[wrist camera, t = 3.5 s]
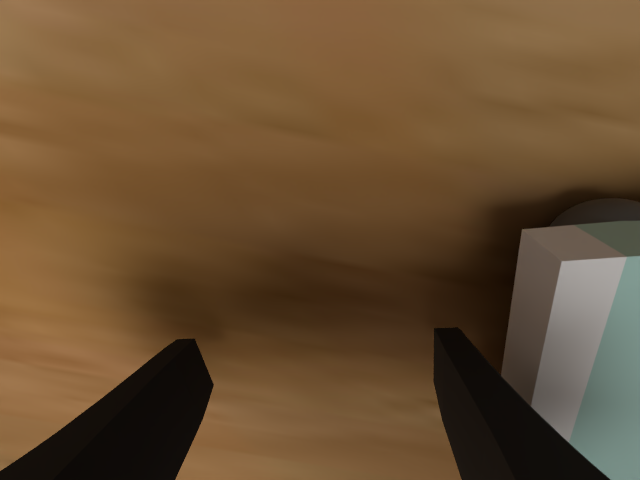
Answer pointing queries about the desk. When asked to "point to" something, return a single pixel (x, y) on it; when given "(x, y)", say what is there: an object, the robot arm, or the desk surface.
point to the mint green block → (582, 331)
